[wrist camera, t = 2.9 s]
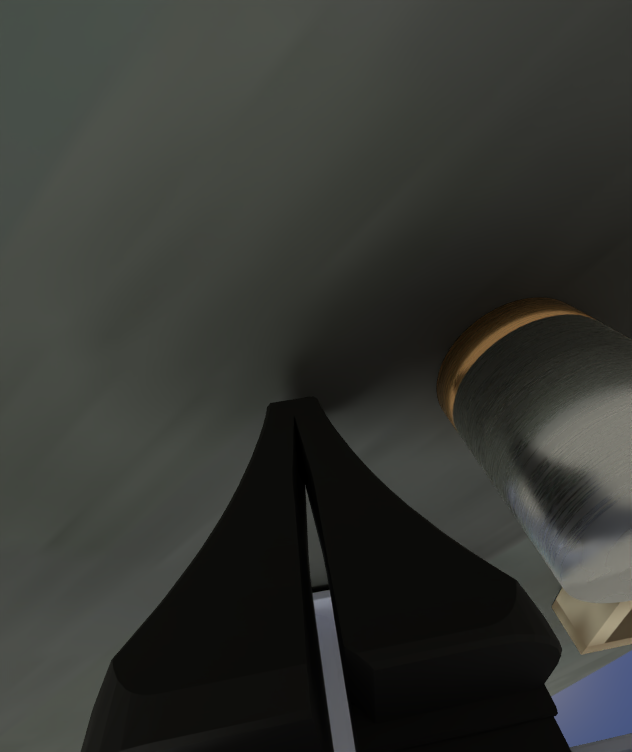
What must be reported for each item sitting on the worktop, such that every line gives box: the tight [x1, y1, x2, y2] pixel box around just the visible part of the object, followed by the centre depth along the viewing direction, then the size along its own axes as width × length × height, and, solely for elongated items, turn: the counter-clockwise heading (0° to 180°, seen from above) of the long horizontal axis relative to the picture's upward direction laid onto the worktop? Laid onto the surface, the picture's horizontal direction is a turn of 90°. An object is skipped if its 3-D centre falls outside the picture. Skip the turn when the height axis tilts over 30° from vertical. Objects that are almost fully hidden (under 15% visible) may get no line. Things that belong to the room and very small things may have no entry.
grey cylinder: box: [437, 297, 632, 603], centre depth 10 cm, size 5×5×6 cm
